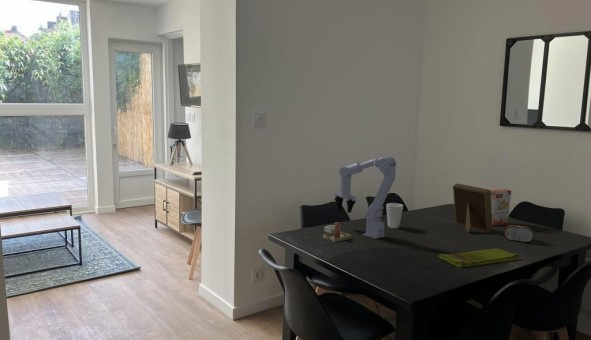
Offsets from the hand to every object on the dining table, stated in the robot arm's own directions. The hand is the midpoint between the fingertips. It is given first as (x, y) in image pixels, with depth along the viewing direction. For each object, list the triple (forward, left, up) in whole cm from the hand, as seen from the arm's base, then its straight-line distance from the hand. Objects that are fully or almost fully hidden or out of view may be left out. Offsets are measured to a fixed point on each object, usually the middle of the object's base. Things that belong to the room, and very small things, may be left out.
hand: (344, 211), depth 266 cm
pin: (-11, +16, -10) cm, 22 cm away
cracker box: (-45, -87, -11) cm, 99 cm away
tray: (-11, +16, -10) cm, 22 cm away
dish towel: (-72, -18, -11) cm, 75 cm away
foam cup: (-13, -28, -11) cm, 33 cm away
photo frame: (-41, -61, -11) cm, 74 cm away
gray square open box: (-1, +10, -10) cm, 14 cm away
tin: (-70, -62, -11) cm, 94 cm away
